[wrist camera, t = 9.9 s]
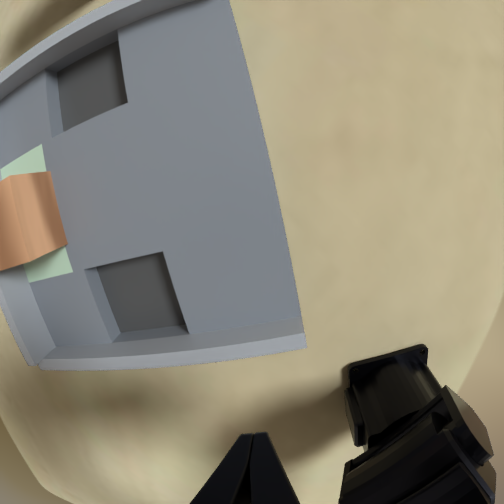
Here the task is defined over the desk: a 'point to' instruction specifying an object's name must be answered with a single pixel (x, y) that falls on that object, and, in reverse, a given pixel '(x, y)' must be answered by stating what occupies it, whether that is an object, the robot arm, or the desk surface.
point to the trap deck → (147, 195)
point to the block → (28, 219)
